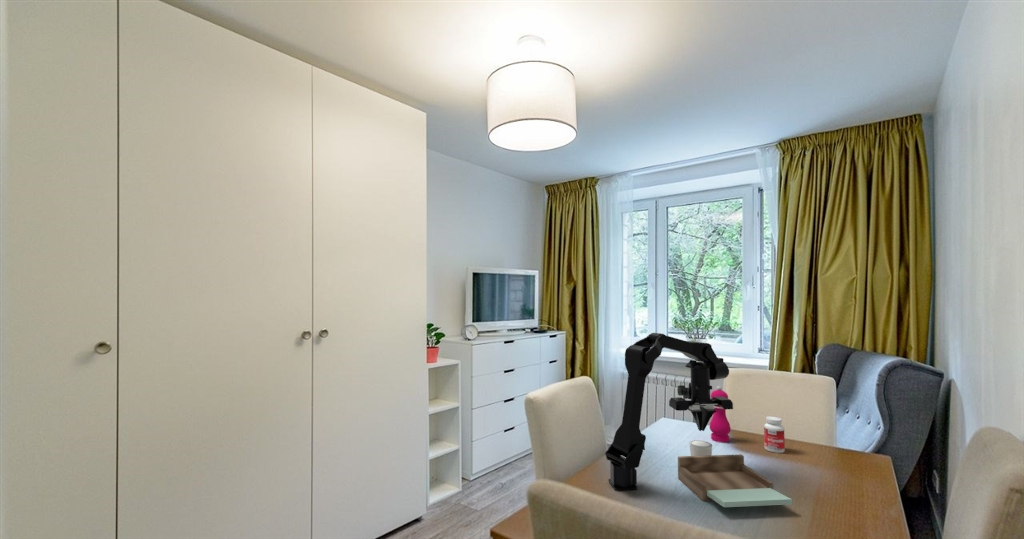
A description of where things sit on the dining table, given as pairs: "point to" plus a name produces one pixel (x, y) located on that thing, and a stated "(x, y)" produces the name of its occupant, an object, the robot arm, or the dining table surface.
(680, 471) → the tray
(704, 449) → the shot glass
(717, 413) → the pepper mill
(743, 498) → the tailgate
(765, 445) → the pill bottle
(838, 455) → the dining table surface
